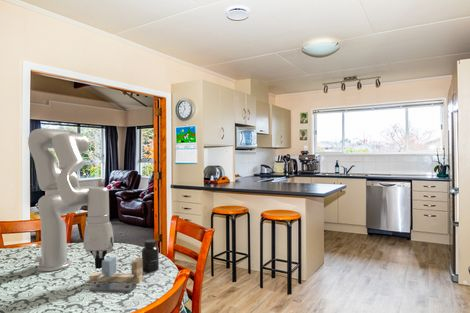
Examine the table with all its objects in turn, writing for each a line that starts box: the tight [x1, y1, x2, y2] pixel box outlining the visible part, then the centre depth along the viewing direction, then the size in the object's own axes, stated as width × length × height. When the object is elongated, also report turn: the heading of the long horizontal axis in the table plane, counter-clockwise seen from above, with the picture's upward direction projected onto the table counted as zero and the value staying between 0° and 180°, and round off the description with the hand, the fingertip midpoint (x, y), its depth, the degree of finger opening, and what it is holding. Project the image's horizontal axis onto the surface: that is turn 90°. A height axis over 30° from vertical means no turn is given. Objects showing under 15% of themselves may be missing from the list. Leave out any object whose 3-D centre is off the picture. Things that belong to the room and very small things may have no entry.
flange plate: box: [89, 282, 137, 294], centre depth 112 cm, size 15×5×1 cm, turn 82°
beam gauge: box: [88, 257, 144, 284], centre depth 118 cm, size 20×10×8 cm, turn 82°
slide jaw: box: [97, 256, 117, 280], centre depth 118 cm, size 3×10×6 cm, turn 172°
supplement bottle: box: [141, 239, 160, 273], centre depth 131 cm, size 7×7×12 cm
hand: (99, 267), depth 121 cm, fingers closed
